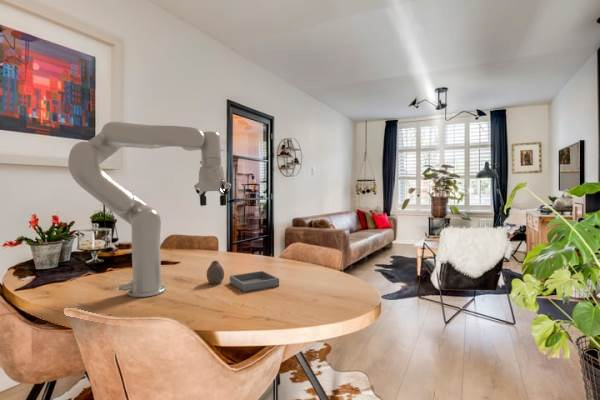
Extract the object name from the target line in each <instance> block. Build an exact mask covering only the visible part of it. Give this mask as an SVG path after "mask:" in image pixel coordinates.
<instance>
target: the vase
mask: <svg viewBox="0 0 600 400" xmlns="http://www.w3.org/2000/svg"><path fill="white" fill-rule="evenodd" d="M224 278H225V270H224V268H223V267H222V265H221V264H220V261H219V260H212V261H211V263H210V265H209V266H208V268H207V270H206V279H207V281H208V283H209V284H211V285H219V284H221V283H222V282H223V281H224Z"/></svg>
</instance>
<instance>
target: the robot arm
mask: <svg viewBox="0 0 600 400" xmlns="http://www.w3.org/2000/svg"><path fill="white" fill-rule="evenodd" d="M166 147H176V148H177V147H180V148H182V149H183V150H185V151H189V152H190V151H192V152H193V151H200V152H201V153H200V155H201V160H199V164H200V165H201V166H199V171H198V182H197V183H196V184H195V185H194V186H193V187H194V190H195V192H196V194H197V195H198V196H199V203H200V204H199V205H200V207H204V206H207V195H206V194H207V192H218V193H219V194H220V195H219V204H220V205H219V206H221V207H224V206H226V205H227V196H228V193H229V192H230V189H231V187H232V183H230V182H227V181H226V180H225V179H226V178H225V172H224V168H223V166H222V157H221V156H222V155H221V136H220V133H218V132H217V131H203V132H202V131H201V130H200V129H199V128H196V127H192V126H190V127H189V126H180V125H161V124H157V125H154V124H153V125H150V124H144V123H143V124H142V123H131V122H122V121H121V122H120V121H110V122H107V123H105V124H104V125H103V127H102V128H101V131H100V132H98V133H97V134H96V135H95V136H94V137H93V138H90V140H88V141H79V142H77V143H75V144H74V145H73V146H72V147H71V149H70V151H69V155H68V160H67V161H68V169H69V173H70V176H71V177H72V179H73V180H74V181H75V182H76V184H77V185H79V186H80V188H82V189H83V190H85V192H87V193H88V194H89V195H91V196H92V197H93V198H94V199H96V200H97V201H99V202H100V203H101V204H102V205H103V206H105V207H106V208H107V209H108V210H109V211H111V213H114V214H115V215H117V216H118V217H120V219H122V220H124V221H125V222H126V223H127V224H129V225H130V226H131V261H132V262H131V263H132V267H131V268H132V279H131V281H130V282H128V283H126V284H123V283H122V284H118V291H122V292H124V291H128V296H130V297H132V298H133V297H134V298H146V297H147V298H148V297H154V296H157V295H160V294H163V293H164V292H165V291H166V290H167V288H166V285H164V284H162V264H161V263H162V259H161V256H162V255H161V229H162V228H161V226H162V221H161V217H160V213H159V212H158V211H157V210H156V209H155V208H153V207H152V206H151V207H150V206H149V205H148V204H146V203H145V202H144V201H142V200H141V199H140V198H138V197H137V196H136V195H135V194H133V193H132V191H131V190H130V189H128V188H125V187H124V186H122V185H121V184H120V183H118V182H117V181H116V180H115V179H114V178H112V177H111V176H110V175H109V174H108V173H106V172H105V171H104V170H103V168H101V166H100V165H101V164H102V163H103V162H104V161H106V160H107V159H109V158H110V157H112V156H113V155H114V154H116V153H117V152H118V151H119V150H120V149H121V148H135V149H137V148H139V149H152V150H153V149H160V148H161V149H162V148H166Z"/></svg>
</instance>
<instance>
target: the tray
mask: <svg viewBox="0 0 600 400" xmlns="http://www.w3.org/2000/svg"><path fill="white" fill-rule="evenodd" d="M230 283H231V284H230ZM229 284H230V285H232V286H233V285H234V286H233V287H234V288H236V287H237V288H236V289H238V290H239V289H240V292H242V291H243V292H242V293H248V292H247V291H250V292H254V291H253V290H255V291H260V290H259V289H261V290H265V289H264V288H266V289H271V288H270V287H272V288H275V287H276V286H277V287H279V286H280V278H279V277H276V276H274V275H273V274H271V273H270V272H269V273H268V272H266V271H264V270H260V271H253V272H245V273H238V274H234V275H229ZM277 287H276V288H277Z"/></svg>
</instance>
